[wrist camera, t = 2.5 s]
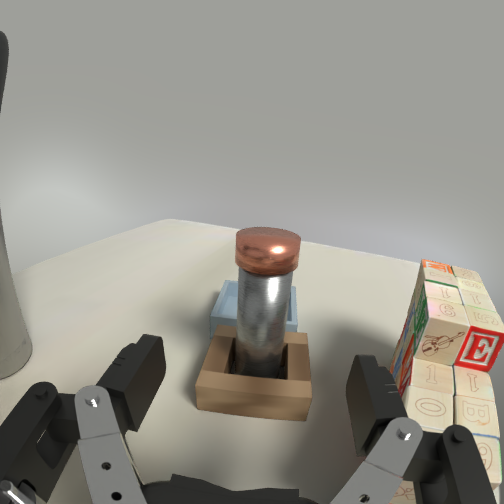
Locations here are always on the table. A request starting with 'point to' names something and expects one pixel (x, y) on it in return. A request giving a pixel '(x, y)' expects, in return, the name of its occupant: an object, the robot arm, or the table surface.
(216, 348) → the socket block
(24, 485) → the robot arm
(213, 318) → the tray
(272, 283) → the pin
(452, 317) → the stack of blocks
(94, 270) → the table surface
